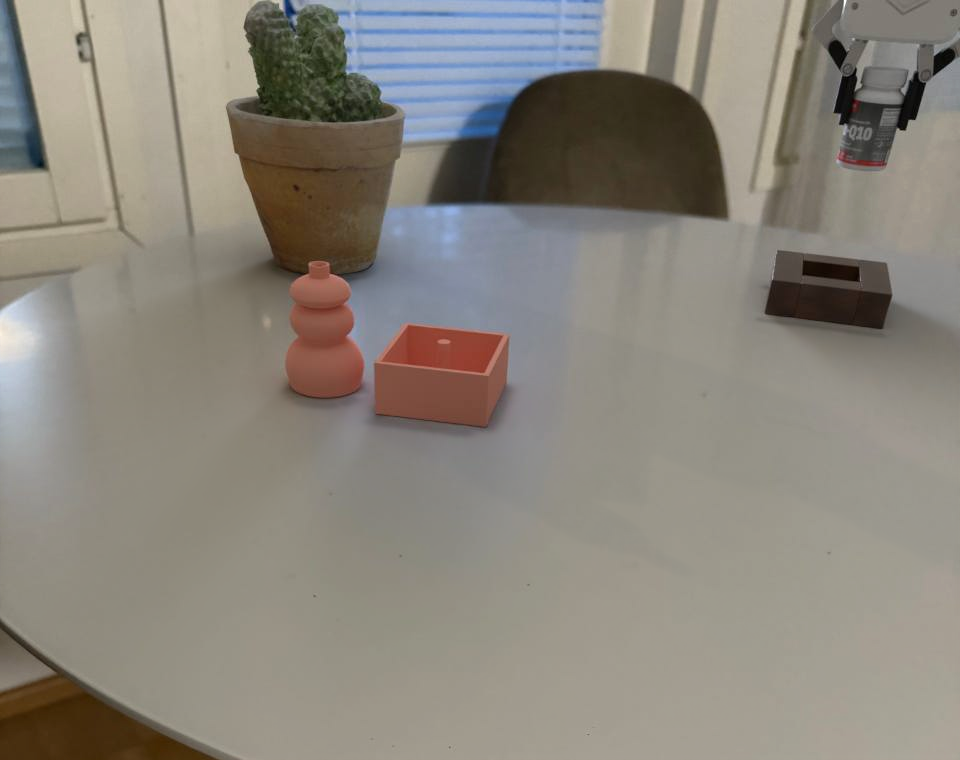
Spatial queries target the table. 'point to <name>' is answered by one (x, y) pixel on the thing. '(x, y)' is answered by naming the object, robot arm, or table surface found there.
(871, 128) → the pill bottle
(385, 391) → the pottery
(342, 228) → the potted plant
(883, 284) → the holder
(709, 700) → the table surface
